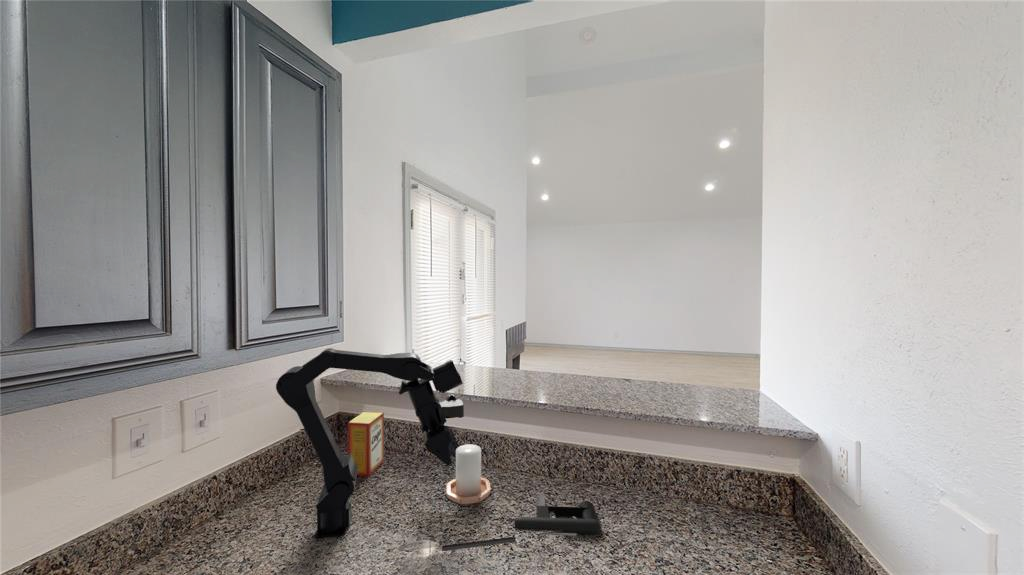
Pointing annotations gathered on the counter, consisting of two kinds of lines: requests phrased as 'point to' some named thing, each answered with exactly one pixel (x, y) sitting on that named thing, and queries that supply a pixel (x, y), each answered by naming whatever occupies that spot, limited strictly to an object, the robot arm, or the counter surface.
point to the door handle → (562, 519)
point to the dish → (467, 500)
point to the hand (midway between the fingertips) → (447, 456)
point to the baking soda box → (366, 441)
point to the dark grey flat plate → (478, 543)
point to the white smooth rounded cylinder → (468, 470)
